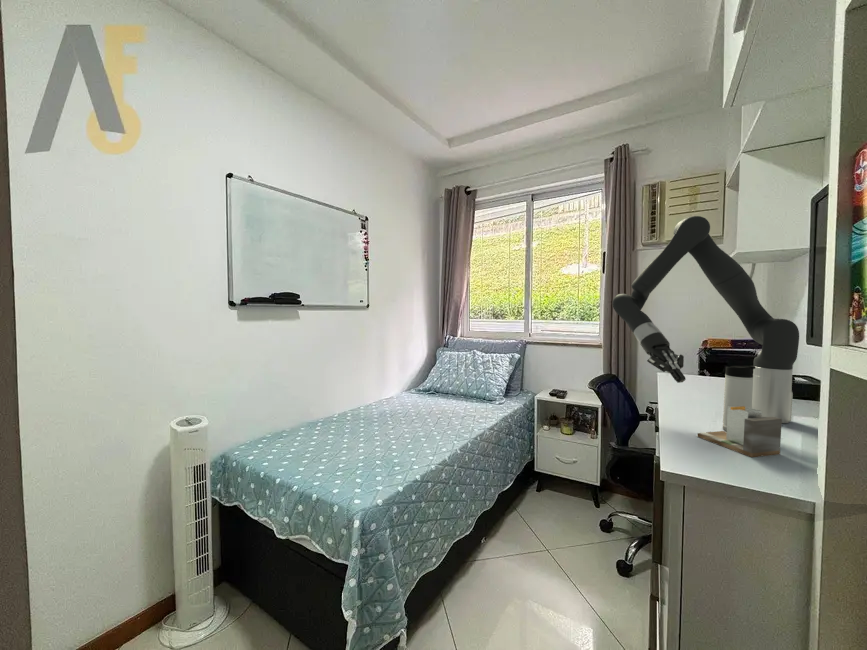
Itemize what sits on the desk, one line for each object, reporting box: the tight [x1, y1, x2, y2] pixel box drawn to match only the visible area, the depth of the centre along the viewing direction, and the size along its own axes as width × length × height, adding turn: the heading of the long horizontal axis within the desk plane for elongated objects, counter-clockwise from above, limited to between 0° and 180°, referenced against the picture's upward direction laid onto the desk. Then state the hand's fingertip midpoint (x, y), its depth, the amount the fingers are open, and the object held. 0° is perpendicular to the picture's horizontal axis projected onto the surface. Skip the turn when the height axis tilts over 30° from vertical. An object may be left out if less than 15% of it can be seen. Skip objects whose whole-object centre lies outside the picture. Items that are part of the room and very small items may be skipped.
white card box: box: [726, 406, 762, 445], centre depth 91 cm, size 5×6×10 cm
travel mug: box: [722, 365, 755, 432], centre depth 103 cm, size 6×7×20 cm
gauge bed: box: [696, 416, 783, 458], centre depth 93 cm, size 14×9×9 cm, turn 12°
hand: (682, 381), depth 109 cm, fingers closed
